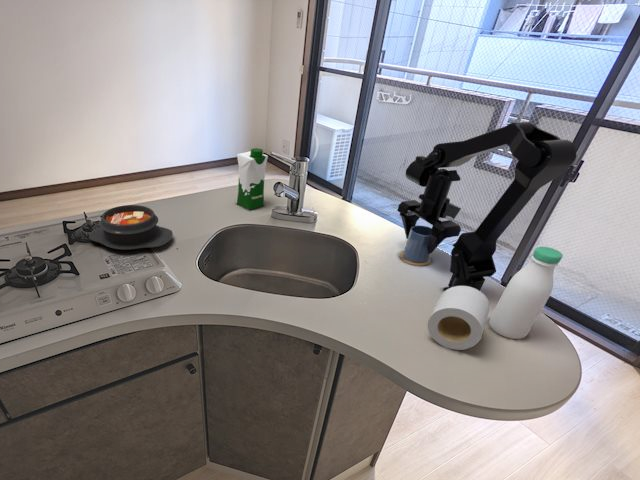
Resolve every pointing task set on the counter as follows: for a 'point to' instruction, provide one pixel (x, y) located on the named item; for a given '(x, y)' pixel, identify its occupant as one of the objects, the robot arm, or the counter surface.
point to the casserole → (130, 229)
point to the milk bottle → (526, 295)
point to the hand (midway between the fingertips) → (418, 245)
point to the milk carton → (251, 178)
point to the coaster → (413, 262)
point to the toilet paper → (459, 317)
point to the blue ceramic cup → (417, 244)
